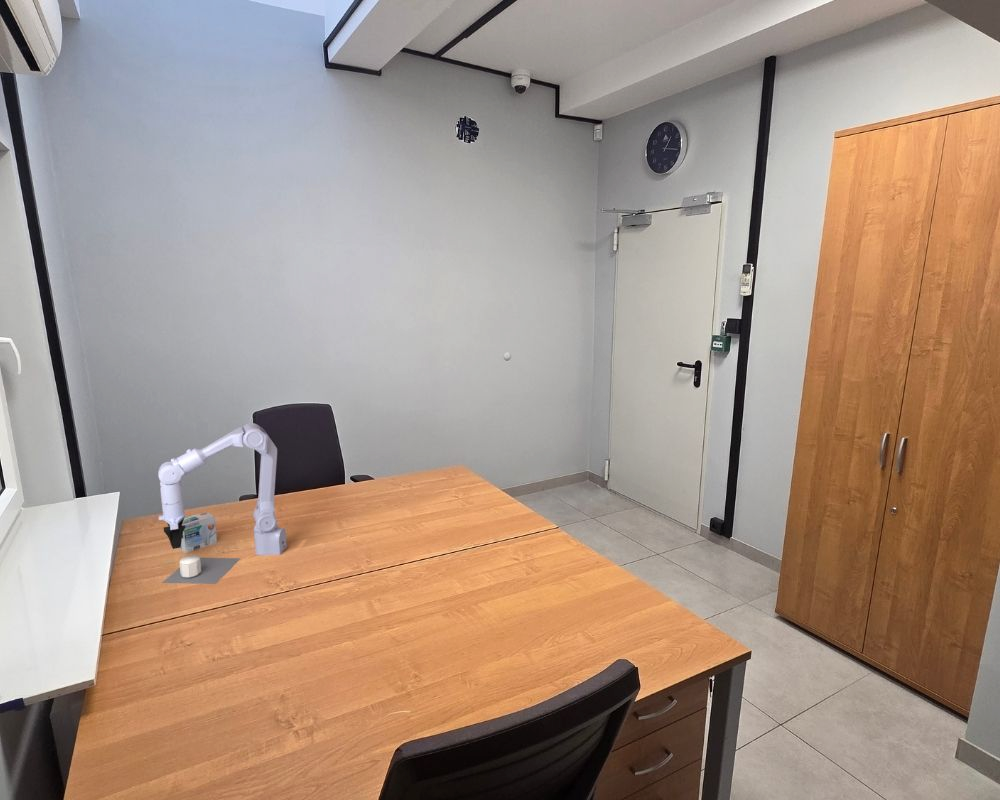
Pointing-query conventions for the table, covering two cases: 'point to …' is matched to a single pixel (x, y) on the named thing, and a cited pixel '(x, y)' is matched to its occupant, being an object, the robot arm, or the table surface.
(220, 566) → the base plate
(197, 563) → the cap
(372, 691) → the table surface
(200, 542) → the light bulb box
